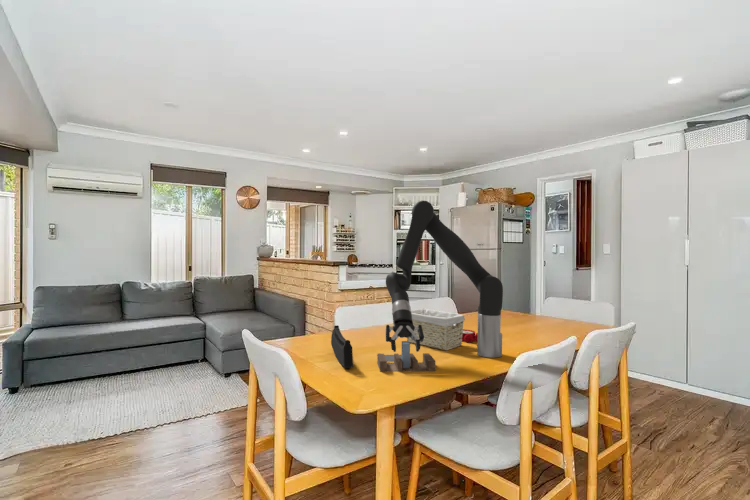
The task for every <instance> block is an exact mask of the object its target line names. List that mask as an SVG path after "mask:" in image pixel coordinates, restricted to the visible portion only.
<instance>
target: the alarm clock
mask: <svg viewBox="0 0 750 500" xmlns="http://www.w3.org/2000/svg"><path fill="white" fill-rule="evenodd" d="M477 338H478V332H476V331H475V330H471V329H465V328H463V333H462V342H465V343H472V342H476V343H477Z"/></svg>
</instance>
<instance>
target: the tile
mask: <svg viewBox="0 0 750 500" xmlns="http://www.w3.org/2000/svg"><path fill="white" fill-rule="evenodd" d="M410 353H411V342H408V341H407V340H402V341H401V354H400V355H401V359H402V367H403V368H410Z"/></svg>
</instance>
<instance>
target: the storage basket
mask: <svg viewBox="0 0 750 500" xmlns="http://www.w3.org/2000/svg"><path fill="white" fill-rule="evenodd" d="M411 314H412V321H413V325H414V327H415V326H419V325H421V326H422V330H423V334H424V339H423V342H420V346H424V347H429V348H432V349H438V350H440V351H441V350H442V351H448V350H451V349H455V348H458V347H460V346H461V345H462V342H463V341H462V333H463V329H464V322H465V320H466V319H465V314H460V313H456V312H449V311H443V310H437V309H433V308H432V309H430V308H418V309H413V310H412V309H411ZM414 332H415V333H416V335H417V336H418V337H419V334H418V332H417V331H416V330H414ZM406 341H408V342H409V343H410V344H415V341H414V340H412V339H411V338H410V337H408V338H406Z"/></svg>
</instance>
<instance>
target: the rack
mask: <svg viewBox="0 0 750 500" xmlns="http://www.w3.org/2000/svg"><path fill="white" fill-rule="evenodd" d="M385 355H386V354H385V353H377V354H376V357H377V358H376V360H377V361H376V363H377V366H378V367H377V368H378V370H379V372H380V373H381V372H383V373H384V372H387V373H388V372H436V359H434V357H433V356H432V355H431V354H430V353H422V362H419V361H418V359H417V357H416V356H415V355H414V353H411V352H410V368H403V367H402V359H401V358H400V356H399V355H400V354H399V353H393V355H394V361H393V362H388V361H387V360H386V358H385Z"/></svg>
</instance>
